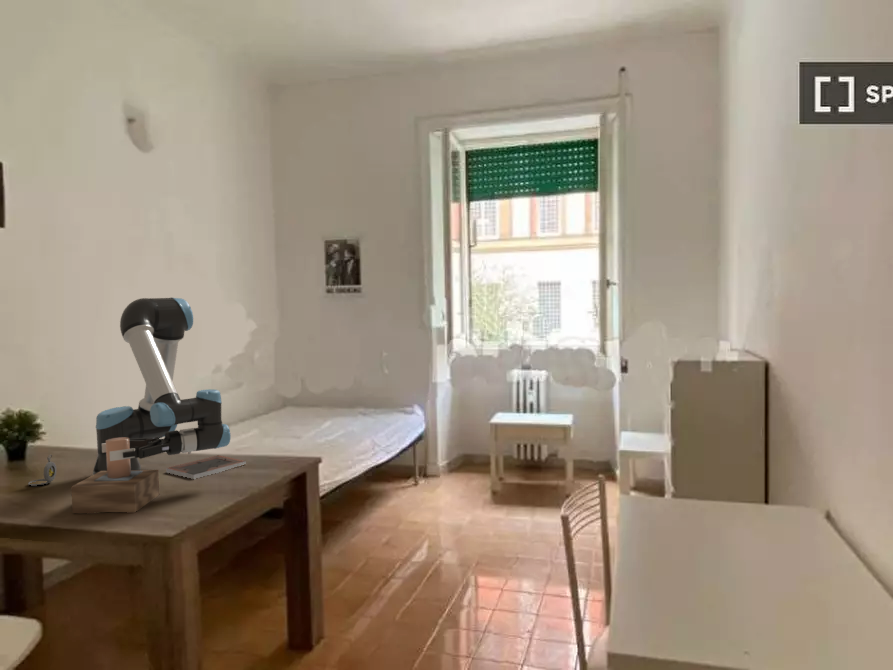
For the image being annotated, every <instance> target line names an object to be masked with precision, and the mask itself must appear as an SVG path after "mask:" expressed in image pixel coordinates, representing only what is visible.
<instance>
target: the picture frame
mask: <svg viewBox="0 0 893 670" xmlns="http://www.w3.org/2000/svg"><path fill="white" fill-rule="evenodd" d="M244 464H246V465H247V462H246V460H243V459H237V458H232V457H228V456H223V455H219V454H218V455H217V454H216V455H214V456H208V457H206V458H202V459H197V460H194V461H190V462H186V463H182V464H177V465H173V466H168V467H166V468H165V470H166V471H165V473H167V474H169V473H170V475H173V474H174V475H173V476H177V475H178V476H179V477H181V476H183V477H182V478H185V477H187V479H189V478H191V480H193V479H194V480H197V479H196V478H198V479H201V478H200V477H202V478H204V477H203V476H205V477H208V476H207V475H209V476H212V475H211V474H213V475H216V474H220V473H222V471H224V472H226V471H225V470H228V469H231V468H234V467H237V466H241V465H244ZM231 470H232V469H231ZM228 471H229V470H228ZM219 472H220V473H219ZM215 473H216V474H215ZM178 476H177V477H178Z"/></svg>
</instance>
